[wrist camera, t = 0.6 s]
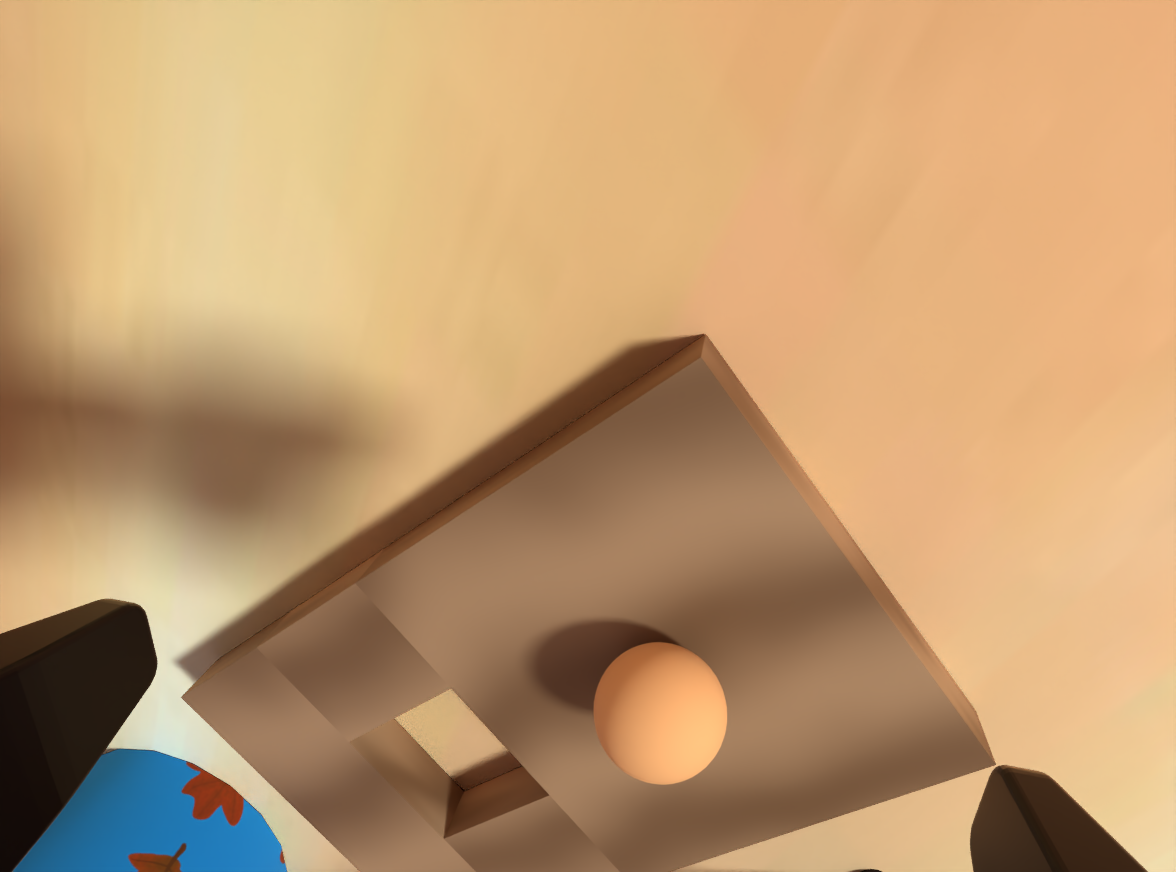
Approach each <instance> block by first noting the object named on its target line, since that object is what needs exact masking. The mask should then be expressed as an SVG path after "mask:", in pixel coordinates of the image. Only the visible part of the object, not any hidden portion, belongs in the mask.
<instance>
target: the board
mask: <svg viewBox="0 0 1176 872" xmlns="http://www.w3.org/2000/svg"><path fill="white" fill-rule="evenodd" d="M652 642H663V643H670V644H675V645H678V646H681V647H683V648H686V649H688V650H690V651H691V652H693V653H694V654H696V655H697V656H699V657H700V658H701V659H702V660H703V661H704V662H705V663H706V664H707V665H708V666H709V667H710V668H711V670H712V671H713V672H714V674H715V675H716V677H717V679H718V680H719V682H720V685H721V687H722V689H723V692H724V695H725V700H726V705H727V726H726V732H725V736H724V739H723V742H722V745H721V747H720V749H719V751H718V752H717V754H716V756H715V757H714V759H713V760H712V761H711V762H710V763H709V765H708V766H707V767H706V768H705V769H703V770H702V771H701V772H700V773H698V774H697V775H695V776H694V777H692V778H690V779H687V780H685V781H682V782H679V783H675V784H667V785H659V784H651V783H646V782H643V781H640V780H638V779H635V778H633V777H631V776H630V775H628V774H626V773H625V772H623V771H622V770H621V769H620V768H619V767H618V766H617V765H616V764H615V763H614V762H613V761H612V760H611V759H610V758H609V757H608V755H607V754H606V752H605V750H604V749H603V747H602V745H601V743H600V741H599V738H598V735H597V732H596V728H595V723H594V699H595V694H596V690H597V687H598V684H599V682H600V680H601V677H602V676H603V674H604V672H605V671H606V669H607V668H608V667H609V665H610V664H611V663H612V662H613V661H614V660H615V659H616V658H617V657H618V656H620V655H621V654H622V653H624V652H625V651H627V650H629V649H631V648H633V647H636V646H638V645H642V644H646V643H652ZM451 688H452V689H453V690H454V692H455V693H456V694H457V695H458V696H459V697H460V698H461V699H462V700H463V701H464V702H465V704H466V705H467V706H468V707H469V708H470V709H471V710H472V711H473V712H474V713H475V714H476V716H477V717H478V718H479V719H480V720H481V721H482V722H483V723H484V724H485V725H486V726H487V728H488V729H489V730H490V731H491V732H492V733H493V734H494V735H495V736H496V737H497V738H498V740H499V741H500V742H501V743H502V744H503V745H504V746H505V747H506V748H507V749H508V750H509V752H510V753H511V754H512V755H513V756H514V757H515V758H516V759H517V760H518V761H519V762H520V764H521V765H522V766H521V767H519V768H517V769H515V770H512V771H510V772H508V773H505V774H503V775H501V776H499V777H496V778H494V779H492V780H490V781H487V782H485V783H483V784H480V785H478V786H476V787H474V788H471V789H469V790H467V791H465V792H463V791H462V790H461V789H460V787H459V786H458V785H457V784H456V783H455V782H454V781H453V780H452V779H451V778H450V777H449V776H448V775H447V774H446V773H445V772H444V771H443V770H442V769H441V767H440V766H439V765H438V764H437V763H436V762H435V761H434V760H433V759H432V758H431V757H430V756H429V755H428V754H427V753H426V752H425V751H424V750H423V749H422V748H421V746H420V745H419V744H418V743H417V742H416V741H415V740H414V739H413V738H412V737H411V736H410V735H409V734H408V733H407V732H406V731H405V730H404V729H403V728H402V727H401V725H400V724H399V723H398V722H397V721H396V720H395V719H394V718H396V717H397V716H399V715H401V714H403V713H405V712H407V711H409V710H411V709H413V708H415V707H417V706H418V705H420V704H422V703H424V702H426V701H428V700H430V699H432V698H434V697H436V696H437V695H439V694H441V693H443V692H445V691H447V690H449V689H451ZM181 698H182V699H183V700H184V701H185V702H186V703H187V704H188V705H189V706H190V707H191V708H192V709H193V710H194V711H195V712H197V713H198V714H199V715H200V716H201V717H202V718H203V719H204V720H205V721H206V722H207V723H208V724H209V725H210V726H211V727H212V728H213V729H214V730H215V731H216V732H217V733H218V734H219V735H220V736H221V737H222V738H223V739H224V740H225V741H226V742H227V743H228V744H229V745H230V746H231V747H233V748H234V749H235V750H236V751H237V752H238V753H239V754H240V755H241V756H242V757H243V758H244V759H245V760H246V761H247V762H248V763H249V764H250V765H251V766H252V767H253V768H254V769H255V770H256V771H257V772H258V773H259V774H260V775H261V776H262V777H263V778H264V779H265V780H266V781H267V782H268V783H270V784H271V785H272V786H273V787H274V788H275V789H276V790H277V791H278V792H279V793H280V794H281V795H282V796H283V797H284V798H285V799H286V800H287V801H288V802H289V803H290V804H291V805H292V806H293V807H294V808H295V809H296V810H297V811H298V812H299V813H300V814H301V815H302V816H303V817H304V818H306V819H307V820H308V821H309V822H310V823H311V824H312V825H313V826H314V827H315V828H316V829H317V830H318V831H319V832H320V833H321V834H322V835H323V836H324V837H325V838H326V839H327V840H328V841H329V842H330V843H331V844H332V845H333V846H334V847H335V848H336V849H337V850H338V851H339V852H340V853H341V854H343V855H344V856H345V857H346V858H347V859H348V860H349V861H350V862H351V863H352V864H353V865H354V866H355V867H356V868H357V869H358V870H359V871H360V872H670V871H673V870H676V869H679V868H682V867H686V866H689V865H692V864H695V863H698V862H701V861H704V860H707V859H710V858H713V857H716V856H719V855H722V854H725V853H728V852H731V851H734V850H737V849H740V848H744V847H747V846H750V845H753V844H756V843H759V842H762V841H765V840H768V839H771V838H774V837H777V836H780V835H783V834H786V833H789V832H792V831H795V830H798V829H802V828H805V827H808V826H811V825H814V824H817V823H820V822H823V821H826V820H829V819H832V818H835V817H838V816H841V815H844V814H847V813H850V812H853V811H857V810H860V809H863V808H866V807H869V806H872V805H875V804H878V803H881V802H884V801H887V800H890V799H893V798H896V797H899V796H902V795H905V794H908V793H911V792H915V791H918V790H921V789H924V788H927V787H930V786H933V785H936V784H939V783H942V782H945V781H948V780H951V779H954V778H957V777H960V776H963V775H966V774H969V773H973V772H976V771H979V770H982V769H985V768H988V767H991V766H994V765H996V763H995V761H994V758H993V755H992V753H991V750H990V747H989V745H988V742H987V739H986V737H985V734H984V731H983V729H982V726H981V723H980V721H979V718H978V715H977V713H976V711H975V709H974V708H973V706H972V705H971V704H970V702H969V701H968V699H967V698H966V697H965V695H964V694H963V692H962V691H961V690H960V688H959V687H958V685H957V684H956V683H955V681H954V680H953V678H952V677H951V676H950V674H949V673H948V671H947V670H946V669H945V667H944V666H943V664H942V663H941V662H940V660H939V659H938V657H937V656H936V655H935V653H934V652H933V651H932V649H931V648H930V646H929V645H928V644H927V642H926V641H925V639H924V638H923V637H922V635H921V634H920V632H919V631H918V630H917V628H916V627H915V625H914V624H913V623H912V621H911V620H910V618H909V617H908V616H907V614H906V613H905V611H904V610H903V609H902V607H901V606H900V604H899V603H898V602H897V600H896V599H895V597H894V596H893V595H892V593H891V592H890V590H889V589H888V588H887V586H886V585H885V584H884V582H883V581H882V579H881V578H880V577H879V575H878V574H877V572H876V571H875V570H874V568H873V567H872V565H871V564H870V563H869V561H868V560H867V558H866V557H865V556H864V554H863V553H862V551H861V550H860V549H859V547H858V546H857V544H856V543H855V542H854V540H853V539H852V537H851V536H850V535H849V533H848V532H847V530H846V529H845V528H844V526H843V525H842V523H841V522H840V521H839V519H838V518H837V516H836V515H835V514H834V512H833V511H832V510H831V508H830V507H829V505H828V504H827V503H826V501H825V500H824V498H823V497H822V496H821V494H820V493H819V491H818V490H817V489H816V487H815V486H814V484H813V483H812V482H811V480H810V479H809V477H808V476H807V475H806V473H805V472H804V470H803V469H802V468H801V466H800V465H799V463H798V462H797V461H796V459H795V458H794V456H793V455H792V454H791V452H790V451H789V449H788V448H787V447H786V445H785V444H784V443H783V441H782V440H781V438H780V437H779V436H778V434H777V433H776V431H775V430H774V429H773V427H772V426H771V424H770V423H769V422H768V420H767V419H766V417H765V416H764V415H763V413H762V412H761V410H760V409H759V408H758V406H757V405H756V403H755V402H754V401H753V399H752V398H751V396H750V395H749V394H748V392H747V391H746V389H745V388H744V387H743V385H742V384H741V382H740V381H739V380H738V378H737V377H736V375H735V374H734V373H733V371H732V370H731V369H730V367H729V366H728V364H727V363H726V362H725V360H724V359H723V357H722V356H721V355H720V353H719V352H718V350H717V349H716V348H715V346H714V345H713V343H712V342H711V341H710V339H709V338H708V336H707V335H706V334H705V335H704V336H702V337H701V338H699V339H698V340H696V341H695V342H693V343H692V344H690V345H689V346H687V347H686V348H684V349H683V350H681V351H680V352H678V353H677V354H675V355H674V356H672V357H671V358H669V359H668V360H666V361H665V362H663V363H662V364H660V365H659V366H657V367H656V368H654V369H653V370H651V371H650V372H648V373H647V374H645V375H644V376H642V377H641V378H639V379H638V380H636V381H635V382H633V383H632V384H630V385H629V386H627V387H626V388H624V389H623V390H621V391H620V392H618V393H617V394H615V395H614V396H612V397H611V398H609V399H608V400H606V401H605V402H603V403H602V404H600V405H599V406H597V407H596V408H594V409H593V410H591V411H590V412H588V413H587V414H585V415H584V416H582V417H581V418H579V419H578V420H576V421H575V422H573V423H572V424H570V425H569V426H567V427H566V428H564V429H563V430H561V431H560V432H558V433H557V434H555V435H554V436H552V437H551V438H549V439H548V440H546V441H545V442H543V443H542V444H540V445H539V446H537V447H536V448H534V449H533V450H531V451H530V452H528V453H527V454H525V455H524V456H522V457H521V458H519V459H518V460H516V461H515V462H513V463H512V464H510V465H509V466H507V467H506V468H504V469H503V470H501V471H500V472H498V473H497V474H495V475H494V476H492V477H491V478H489V479H488V480H486V481H485V482H483V483H482V484H480V485H479V486H477V487H476V488H474V489H473V490H471V491H470V492H468V493H467V494H465V495H464V496H462V497H461V498H459V499H458V500H456V501H455V502H453V503H452V504H450V505H449V506H447V507H446V508H444V509H443V510H441V511H440V512H438V513H437V514H435V515H434V516H432V517H431V518H429V519H428V520H426V521H425V522H423V523H422V524H420V525H419V526H417V527H416V528H414V529H413V530H411V531H410V532H408V533H407V534H405V535H404V536H402V537H401V538H399V539H398V540H396V541H395V542H393V543H392V544H390V545H389V546H387V547H386V548H384V549H383V550H381V551H380V552H378V553H377V554H375V555H374V556H372V557H371V558H369V559H368V560H366V561H365V562H363V563H362V564H360V565H359V566H357V567H356V568H354V569H353V570H351V571H350V572H348V573H347V574H345V575H344V576H342V577H341V578H339V579H338V580H336V581H335V582H333V583H332V584H330V585H329V586H327V587H326V588H324V589H323V590H321V591H320V592H318V593H317V594H315V595H314V596H312V597H311V598H309V599H308V600H306V601H305V602H303V603H302V604H300V605H299V606H297V607H296V608H294V609H293V610H291V611H290V612H288V613H287V614H285V615H284V616H282V617H281V618H279V619H278V620H276V621H275V622H273V623H272V624H270V625H269V626H267V627H266V628H264V629H263V630H261V631H260V632H258V633H257V634H255V635H254V636H252V637H251V638H249V639H248V640H246V641H245V642H243V643H242V644H240V645H239V646H237V647H236V648H234V649H233V650H231V651H230V652H228V653H227V654H225V655H224V656H222V657H221V658H219V659H218V660H217V661H216V662H215V663H214V664H213V665H212V666H211V667H210V668H209V669H208V670H207V671H206V672H205V673H204V674H203V675H202V676H201V677H200V678H199V679H198V680H197V681H196V682H195V684H194V685H193V686H192V687H191V688H190V689H189V690H188V691H187V692H186V693H185V694H184V695H183V696H182V697H181Z"/></svg>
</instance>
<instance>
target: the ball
mask: <svg viewBox="0 0 1176 872" xmlns="http://www.w3.org/2000/svg"><path fill="white" fill-rule="evenodd" d="M594 723H595V728H596V732H597V735H598V738H599V741H600V743H601V745H602V747H603V749H604V750H605V752H606V754H607V755H608V757H609V758H610V759H611V760H612V761H613V762H614V763H615V764H616V765H617V766H618V767H619V768H620V769H621V770H622V771H623V772H625V773H626V774H628V775H630V776H631V777H633V778H635V779H638V780H640V781H643V782H646V783H651V784H659V785H667V784H675V783H679V782H682V781H685V780H687V779H690V778H692V777H694V776H695V775H697V774H698V773H700V772H701V771H702V770H703V769H705V768H706V767H707V766H708V765H709V763H710V762H711V761H712V760H713V759H714V757H715V756H716V754H717V752H718V751H719V749H720V747H721V745H722V742H723V739H724V736H725V732H726V726H727V705H726V700H725V695H724V692H723V689H722V687H721V685H720V682H719V680H718V679H717V677H716V675H715V674H714V672H713V671H712V670H711V668H710V667H709V666H708V665H707V664H706V663H705V662H704V661H703V660H702V659H701V658H700V657H699V656H697V655H696V654H694V653H693V652H691V651H690V650H688V649H686V648H683V647H681V646H678V645H675V644H670V643H663V642H652V643H646V644H642V645H638V646H636V647H633V648H631V649H629V650H627V651H625V652H624V653H622V654H621V655H620V656H618V657H617V658H616V659H615V660H614V661H613V662H612V663H611V664H610V665H609V667H608V668H607V669H606V671H605V672H604V674H603V676H602V677H601V680H600V682H599V684H598V687H597V690H596V694H595V699H594Z"/></svg>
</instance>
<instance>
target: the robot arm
mask: <svg viewBox="0 0 1176 872" xmlns="http://www.w3.org/2000/svg"><path fill="white" fill-rule="evenodd" d="M156 670H157V656H156V652H155V648H154V644H153V640H152V635H151V631H150V627H149V623H148V618H147V615H146V612H145V611H144V609H143V608H142V607H141V606H140V605H138V604H136V603H131V602H126V601H120V600H115V599H101V600H97V601H94V602H91V603H88V604H86V605H83V606H80V607H77V608H74V609H71V610H68V611H65V612H62V613H59V614H57V615H54V616H51V617H48V618H45V619H42V620H39V621H36V622H33V623H31V624H28V625H25V626H22V627H19V628H16V629H13V630H10V631H7V632H5V633H2V634H0V872H13V870H14V869H15V868H16V867H17V865H18V864H19V863H20V862H21V861H22V859H23V858H24V857H25V856H26V855H27V853H28V852H29V851H30V850H31V848H32V847H33V846H34V845H35V844H36V842H37V841H38V840H39V839H40V838H41V836H42V835H43V834H44V833H45V831H46V830H47V829H48V828H49V826H50V825H51V824H52V823H53V821H54V820H55V819H56V818H57V816H58V815H59V814H60V813H61V811H62V810H63V809H64V807H65V806H66V805H67V803H68V802H69V801H70V799H71V798H72V796H73V795H74V794H75V792H76V791H77V790H78V788H79V787H80V785H81V784H82V782H83V781H84V780H85V778H86V777H87V775H88V774H89V772H90V771H91V770H92V768H93V767H94V765H95V764H96V762H97V761H98V759H99V758H100V757H101V755H102V754H103V752H104V751H105V749H106V748H107V747H108V745H109V744H110V742H111V741H112V739H113V738H114V736H115V735H116V734H117V732H118V731H119V729H120V728H121V726H122V725H123V724H124V722H125V721H126V719H127V718H128V716H129V715H130V713H131V712H132V711H133V709H134V708H135V706H136V705H137V703H138V702H139V701H140V699H141V698H142V696H143V695H144V693H145V692H146V690H147V689H148V688H149V686H150V685H151V683H152V681H153V679H154V677H155V674H156ZM970 850H971V858H972V864H973V871H974V872H1148V871H1147V870H1146V869H1145V868H1144V867H1143V866H1142V865H1141V864H1139V863H1138V862H1137V861H1136V860H1135V859H1134V858H1133V857H1132V856H1131V855H1130V854H1129V853H1128V852H1127V851H1126V850H1125V849H1124V848H1123V847H1122V846H1121V845H1120V844H1119V843H1118V842H1117V841H1116V840H1115V839H1114V838H1113V837H1112V836H1111V835H1110V834H1109V833H1108V832H1107V831H1106V830H1105V829H1104V828H1103V827H1102V826H1101V825H1100V824H1099V823H1098V822H1097V821H1096V820H1095V819H1094V818H1092V817H1091V816H1090V815H1089V814H1088V813H1087V812H1086V811H1085V810H1084V809H1083V808H1082V807H1081V806H1080V805H1079V804H1078V803H1077V802H1076V801H1075V800H1074V799H1073V798H1072V797H1071V796H1070V795H1069V794H1068V793H1067V792H1066V791H1065V790H1064V789H1063V788H1062V787H1061V786H1060V785H1059V784H1058V783H1057V782H1056V781H1055V780H1053V779H1052V778H1051V777H1050V776H1048V775H1047V774H1045V773H1042V772H1039V771H1034V770H1029V769H1024V768H1018V767H1013V766H1008V765H1001V766H998V767H996V768H995V769H994V770H993V771H992V773H991V775H990V777H989V780H988V782H987V785H986V788H985V791H984V793H983V796H982V799H981V802H980V804H979V807H978V810H977V813H976V815H975V818H974V821H973V824H972V828H971V836H970ZM861 872H882V871H879V870H874V869H870V870H864V871H861Z"/></svg>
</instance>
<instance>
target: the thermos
mask: <svg viewBox="0 0 1176 872" xmlns="http://www.w3.org/2000/svg"><path fill="white" fill-rule="evenodd" d="M13 872H287V870H286V865H285V861H284V857H283V852H282V848H281V845H280V843H279V842H278V840H277V839H276V837H275V835H274V834H273V832H272V831H271V829H270V828H269V826H268V825H267V823H266V821H265V820H264V818H263V817H262V815H261V814H260V813H259V812H258V811H257V810H256V809H254V808H253V807H252V806H251V805H250V804H249V803H248V802H247V801H246V800H245V799H244V798H243V797H242V796H241V795H239V794H238V793H237V792H236V791H235V790H234V789H233V788H232V787H231V786H229V785H228V784H226V783H224V782H223V781H221V780H219V779H218V778H216V777H214V776H213V775H211V774H209V773H208V772H206V771H204V770H203V769H201V768H199V767H198V766H196V765H194V764H192V763H189V762H186V761H183V760H180V759H177V758H174V757H171V756H168V755H165V754H162V753H159V752H156V751H148V750H128V749H117V750H115V751H112V752H109V753H106V754H103V755H101V757H100V758H99V759H98V761H97V762H96V764H95V765H94V767H93V768H92V770H91V771H90V772H89V774H88V775H87V777H86V778H85V780H84V781H83V782H82V784H81V785H80V787H79V788H78V790H77V791H76V792H75V794H74V795H73V796H72V798H71V799H70V801H69V802H68V803H67V805H66V806H65V807H64V809H63V810H62V811H61V813H60V814H59V815H58V816H57V818H56V819H55V820H54V821H53V823H52V824H51V825H50V826H49V828H48V829H47V830H46V831H45V833H44V834H43V835H42V836H41V838H40V839H39V840H38V841H37V842H36V844H35V845H34V846H33V847H32V848H31V850H30V851H29V852H28V853H27V855H26V856H25V857H24V858H23V859H22V861H21V862H20V863H19V864H18V865H17V867H16V868H15V869H14V870H13Z"/></svg>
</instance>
